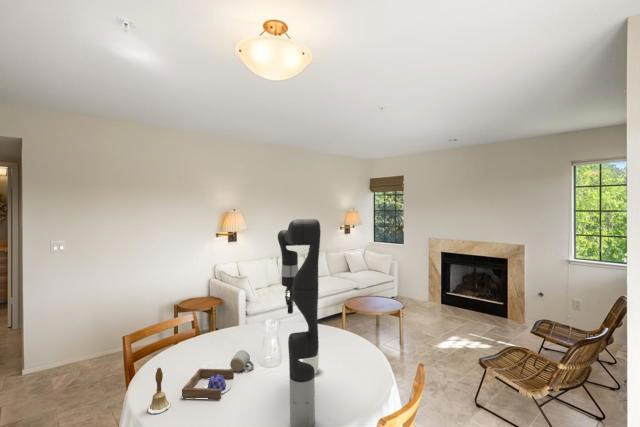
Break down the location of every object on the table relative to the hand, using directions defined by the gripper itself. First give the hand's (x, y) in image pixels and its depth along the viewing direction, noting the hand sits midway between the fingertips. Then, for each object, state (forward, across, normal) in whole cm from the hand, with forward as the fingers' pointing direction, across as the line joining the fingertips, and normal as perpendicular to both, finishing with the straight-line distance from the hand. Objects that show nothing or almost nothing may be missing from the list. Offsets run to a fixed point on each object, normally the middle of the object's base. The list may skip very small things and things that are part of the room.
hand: (290, 313), depth 147 cm
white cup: (+32, +11, -8) cm, 35 cm away
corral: (+32, -5, +35) cm, 48 cm away
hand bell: (+32, -20, +50) cm, 63 cm away
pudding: (+32, -5, +32) cm, 46 cm away
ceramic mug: (+32, +13, +26) cm, 43 cm away
